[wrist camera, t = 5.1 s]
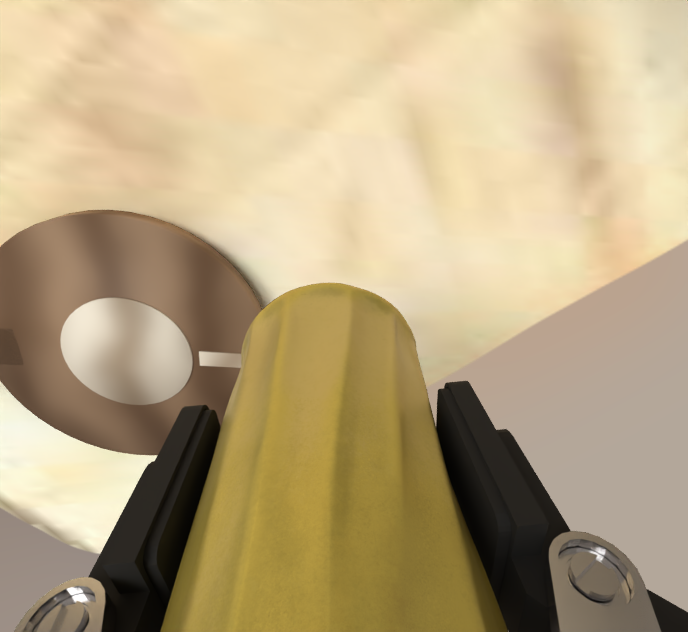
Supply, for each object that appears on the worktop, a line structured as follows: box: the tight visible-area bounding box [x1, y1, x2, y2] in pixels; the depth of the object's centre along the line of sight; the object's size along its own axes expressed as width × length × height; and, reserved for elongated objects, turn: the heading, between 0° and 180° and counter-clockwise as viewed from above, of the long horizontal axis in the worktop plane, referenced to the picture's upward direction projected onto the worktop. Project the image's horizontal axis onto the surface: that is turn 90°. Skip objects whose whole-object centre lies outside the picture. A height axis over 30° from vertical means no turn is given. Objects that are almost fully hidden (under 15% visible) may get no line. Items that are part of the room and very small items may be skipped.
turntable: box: [0, 210, 262, 455], centre depth 25 cm, size 23×20×8 cm
